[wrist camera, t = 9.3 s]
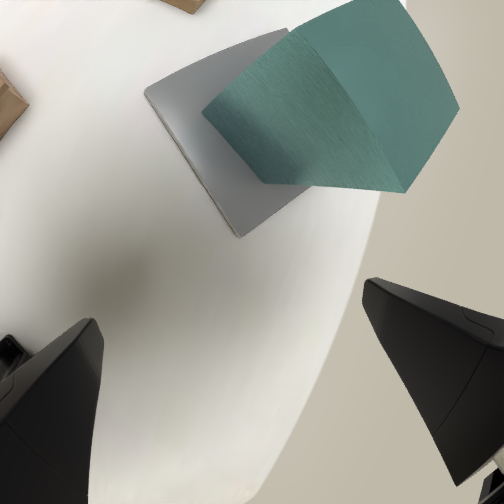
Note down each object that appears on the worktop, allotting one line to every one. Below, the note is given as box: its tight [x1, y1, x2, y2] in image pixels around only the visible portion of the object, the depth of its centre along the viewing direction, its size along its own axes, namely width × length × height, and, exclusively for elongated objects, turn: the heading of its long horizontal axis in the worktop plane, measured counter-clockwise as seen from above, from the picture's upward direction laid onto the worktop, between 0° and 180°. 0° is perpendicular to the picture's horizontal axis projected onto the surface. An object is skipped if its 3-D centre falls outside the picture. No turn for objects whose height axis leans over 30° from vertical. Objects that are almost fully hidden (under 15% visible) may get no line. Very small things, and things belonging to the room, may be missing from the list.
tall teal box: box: [201, 0, 460, 193], centre depth 13 cm, size 6×6×12 cm
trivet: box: [144, 28, 311, 238], centre depth 19 cm, size 12×12×1 cm
